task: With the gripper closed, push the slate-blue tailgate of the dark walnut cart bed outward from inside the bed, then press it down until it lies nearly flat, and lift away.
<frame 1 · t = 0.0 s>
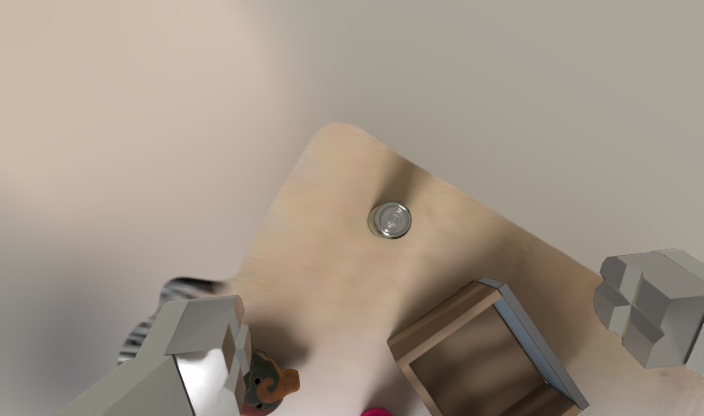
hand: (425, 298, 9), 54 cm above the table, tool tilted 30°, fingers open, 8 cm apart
tailgate: (529, 338, 58), point 6 cm above the table, hinge at 0.0°
soda can: (382, 221, 64), on the table
decorative turtle: (252, 372, 62), on the table
cart bed: (465, 363, 63), on the table
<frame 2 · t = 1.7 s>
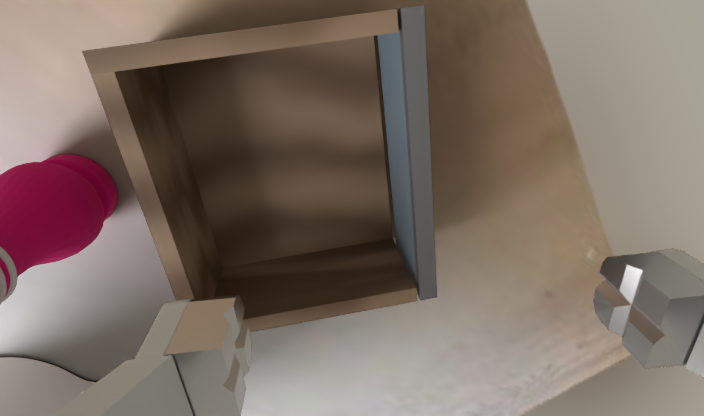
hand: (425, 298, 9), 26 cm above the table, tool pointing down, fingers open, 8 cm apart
tailgate: (406, 158, 30), point 6 cm above the table, hinge at 0.0°
pepper mill: (78, 189, 33), on the table
cart bed: (284, 157, 34), on the table
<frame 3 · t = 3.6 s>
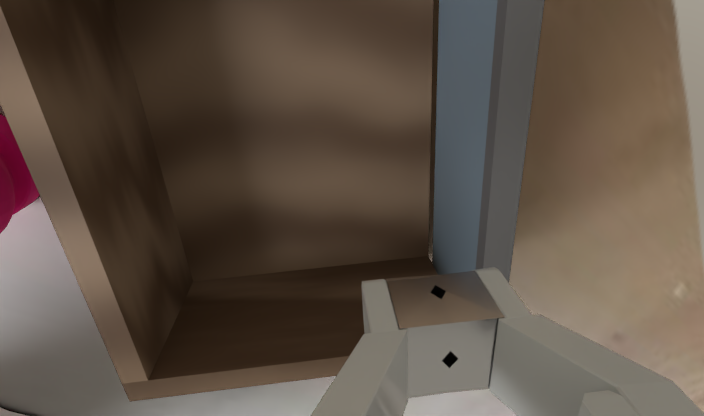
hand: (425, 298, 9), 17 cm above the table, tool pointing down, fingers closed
tailgate: (471, 145, 20), point 6 cm above the table, hinge at 0.0°
cart bed: (287, 134, 24), on the table
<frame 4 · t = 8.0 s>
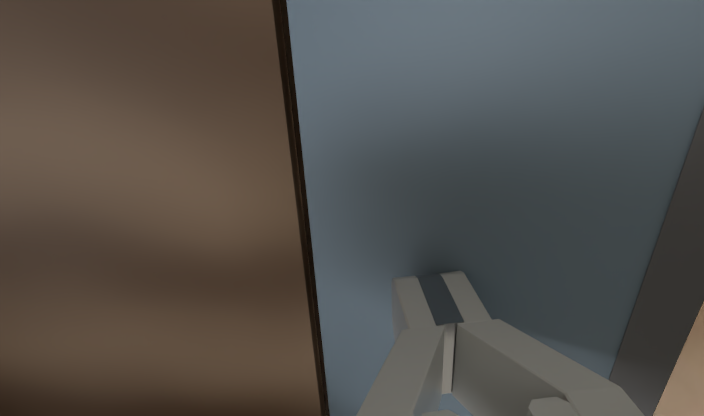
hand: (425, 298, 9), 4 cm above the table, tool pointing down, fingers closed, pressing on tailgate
tailgate: (460, 286, 9), point 3 cm above the table, hinge at 54.4°, touching gripper
cart bed: (29, 244, 12), on the table
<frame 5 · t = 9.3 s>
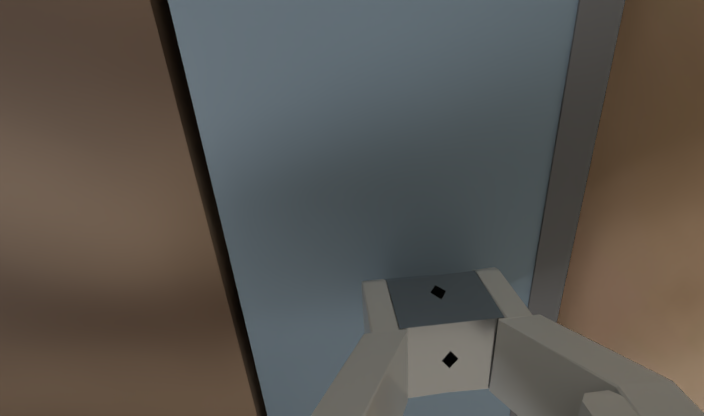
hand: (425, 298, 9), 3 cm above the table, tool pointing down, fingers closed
tailgate: (398, 258, 10), point 1 cm above the table, hinge at 86.6°
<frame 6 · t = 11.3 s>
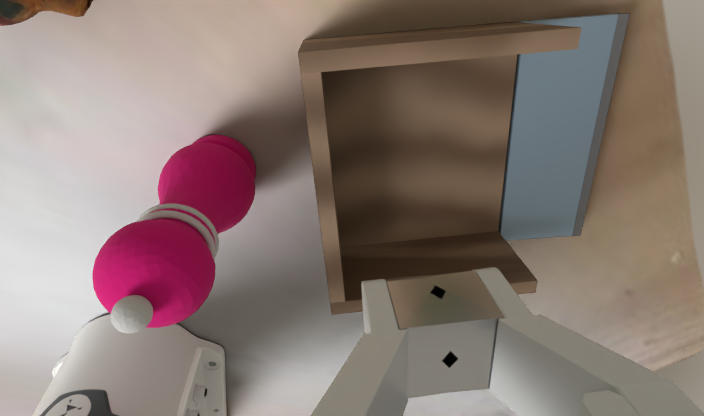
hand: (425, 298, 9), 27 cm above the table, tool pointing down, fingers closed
tailgate: (552, 140, 36), point 1 cm above the table, hinge at 86.6°
pepper mill: (221, 167, 36), on the table
cart bed: (409, 149, 36), on the table
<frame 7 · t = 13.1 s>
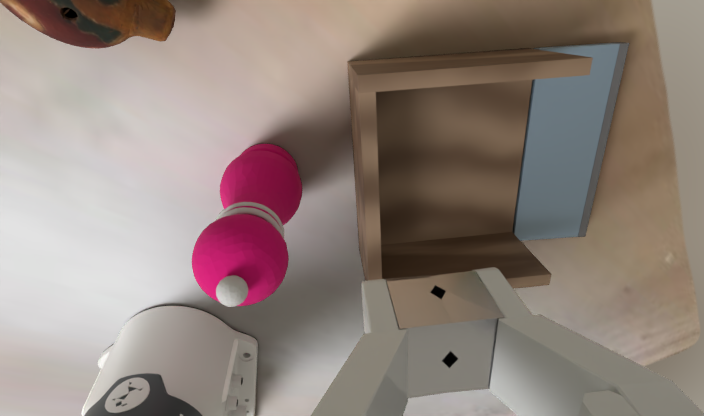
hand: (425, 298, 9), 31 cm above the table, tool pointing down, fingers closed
tailgate: (561, 151, 40), point 1 cm above the table, hinge at 86.6°
pepper mill: (267, 172, 40), on the table
cart bed: (435, 158, 41), on the table
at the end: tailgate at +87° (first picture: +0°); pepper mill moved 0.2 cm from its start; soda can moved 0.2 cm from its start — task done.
